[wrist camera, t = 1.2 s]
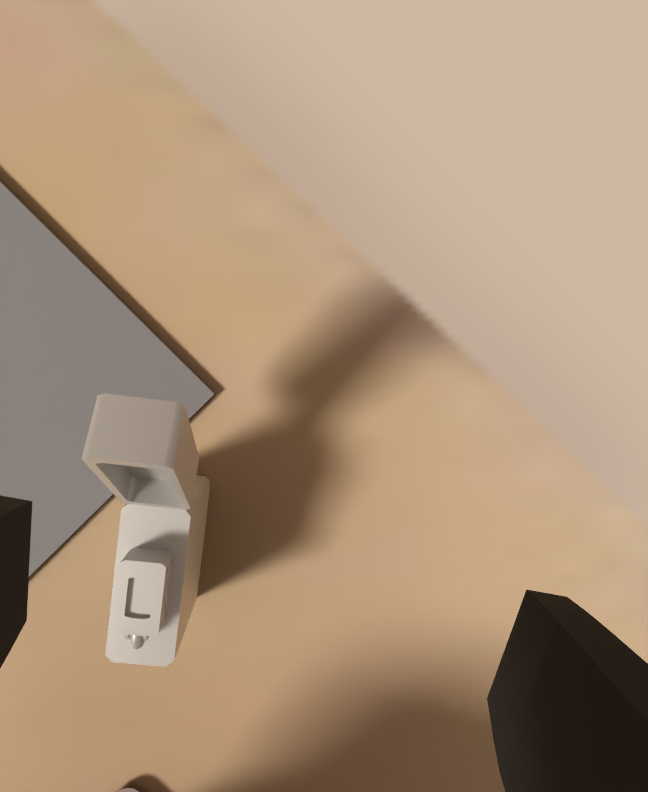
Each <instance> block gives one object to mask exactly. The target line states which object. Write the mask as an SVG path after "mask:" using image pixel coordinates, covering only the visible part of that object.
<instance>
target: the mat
mask: <svg viewBox="0 0 648 792" xmlns="http://www.w3.org/2000/svg"><path fill="white" fill-rule="evenodd" d="M104 393H106V394H114V395H123V396H131V397H140V398H148V399H156V400H165V401H173V402H177V403H180V404H182V405H184V406H185V407H186V411H187V414H188V418H189V419H190V418H191V417H192V416H193V415H194V414H195V413H196V412H197V411H198V410H199V409H200V408H201V407H202V406H203V405H204V404H205V403H206V402H207V401H208V400H209V399H210V398H211V397H212V396H213V395H214V394H215V393H214V392H213V391H212V390H211V389H210V388H209V387H208V386H207V385H206V384H205V383H204V382H203V381H202V380H201V379H200V378H199V377H198V376H197V375H196V374H195V373H194V372H193V371H192V370H191V369H190V368H189V367H188V366H187V365H186V364H185V363H184V362H183V361H182V360H181V359H180V358H179V357H178V356H177V355H176V354H175V353H174V352H173V351H172V350H171V349H170V348H169V347H168V346H167V345H166V344H165V343H164V342H163V341H162V340H161V339H160V338H159V337H158V336H157V335H156V334H155V333H154V332H153V331H152V330H151V329H150V328H149V327H148V326H147V325H146V324H145V323H144V322H143V321H142V320H141V319H140V318H139V317H138V316H137V315H135V314H134V313H133V312H132V311H131V310H130V309H129V308H128V307H127V306H126V305H125V304H124V303H123V302H122V301H121V300H120V299H119V298H118V297H117V296H116V295H115V294H114V293H113V292H112V291H111V290H110V289H109V288H108V287H107V286H106V285H105V284H104V283H103V282H102V281H101V280H100V279H99V278H98V277H97V276H96V275H95V274H94V273H93V272H92V271H91V270H90V269H89V268H88V267H87V266H86V265H85V264H84V263H83V262H82V261H81V260H80V259H79V258H78V257H77V256H76V255H75V254H74V253H73V252H72V251H71V250H70V249H69V248H68V247H67V246H66V245H65V244H64V243H63V242H62V241H61V240H60V239H59V238H58V237H57V236H56V235H55V234H54V233H53V232H52V231H51V230H50V229H49V228H48V227H47V226H46V225H45V224H44V223H43V222H42V221H41V220H40V219H39V218H38V217H37V216H36V215H35V214H34V213H33V212H32V211H31V210H30V209H29V208H28V207H27V206H26V205H24V204H23V203H22V202H21V201H20V200H19V199H18V198H17V197H16V196H15V195H14V194H13V193H12V192H11V191H10V190H9V189H8V188H7V187H6V186H5V185H4V184H3V183H2V182H1V181H0V495H1V496H6V497H12V498H18V499H23V500H29V501H32V520H31V540H30V560H29V577H30V576H31V575H32V574H33V573H34V572H35V571H36V570H37V569H38V568H39V567H40V566H41V565H42V564H43V563H44V562H45V561H46V560H47V559H48V558H49V557H50V556H51V555H52V554H53V553H54V552H55V551H56V550H57V549H58V548H59V547H60V546H61V545H62V544H63V543H64V542H65V541H66V540H67V539H68V538H69V537H70V536H71V535H72V534H73V533H74V532H75V531H76V530H77V529H78V528H79V527H80V526H81V525H82V524H83V523H84V522H85V521H86V520H87V519H88V518H89V517H90V516H91V515H92V514H93V513H95V512H96V511H97V510H98V509H99V508H100V507H101V506H102V505H103V504H104V503H105V502H106V501H107V500H108V499H109V498H110V497H111V496H112V495H113V493H112V492H111V491H110V490H109V489H108V487H107V486H106V485H105V484H104V483H103V482H102V481H101V480H100V479H99V478H98V477H97V475H96V474H95V473H94V472H93V471H92V470H91V469H90V468H89V467H88V466H87V465H86V464H85V462H84V461H83V460H82V455H83V451H84V447H85V443H86V439H87V435H88V431H89V427H90V423H91V419H92V415H93V411H94V407H95V403H96V399H97V396H98V395H101V394H104Z"/></svg>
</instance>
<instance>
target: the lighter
mask: <svg viewBox="0 0 648 792" xmlns="http://www.w3.org/2000/svg"><path fill="white" fill-rule="evenodd" d="M82 460H83V461H84V462H85V464H86V465H87V466H88V467H89V468H90V469H91V470H92V471H93V472H94V473H95V474H96V475H97V477H98V478H99V479H100V480H101V481H102V482H103V483H104V484H105V485H106V486H107V487H108V489H109V490H110V491H111V492H112V493H113V494H114V495H115V496H116V497H117V498H118V499H119V501H120V502H124V503H127V504H126V505H125V506H124V507H123V508H122V509H121V516H120V526H119V535H118V544H117V553H116V562H115V571H114V581H113V590H112V599H111V608H110V617H109V626H108V635H107V645H106V654H105V655H106V656H107V657H108V658H109V660H110V661H111V662H117V663H129V664H141V665H152V666H164V667H167V666H168V665H169V664H171V663H172V662H173V661H174V659H175V657H176V654H177V651H178V648H179V645H180V643H181V640H182V637H183V634H184V632H185V629H186V626H187V623H188V620H189V618H190V615H191V612H192V609H193V606H194V604H195V601H196V598H197V595H198V587H199V579H200V570H201V561H202V553H203V544H204V536H205V527H206V519H207V510H208V502H209V493H210V485H211V481H210V480H209V479H208V478H207V476H202V475H197V469H198V464H199V456H198V452H197V448H196V444H195V441H194V437H193V433H192V429H191V426H190V422H189V418H188V414H187V411H186V407H185V406H184V405H182V404H180V403H177V402H173V401H165V400H156V399H148V398H140V397H131V396H123V395H114V394H106V393H104V394H101V395H98V396H97V399H96V403H95V407H94V411H93V415H92V419H91V423H90V427H89V431H88V435H87V439H86V443H85V447H84V451H83V455H82Z"/></svg>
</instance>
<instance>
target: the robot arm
mask: <svg viewBox="0 0 648 792" xmlns="http://www.w3.org/2000/svg"><path fill="white" fill-rule="evenodd" d="M31 520H32V501H29V500H23V499H18V498H12V497H6V496H1V495H0V668H1V666H2V664H3V663H4V661H5V659H6V657H7V655H8V654H9V652H10V650H11V648H12V646H13V644H14V643H15V641H16V639H17V637H18V635H19V633H20V631H21V630H22V628H23V626H24V624H25V622H26V619H27V599H28V580H29V560H30V540H31ZM487 700H488V706H489V713H490V719H491V725H492V732H493V738H494V743H495V749H496V754H497V759H498V765H499V770H500V774H501V777H502V781H503V784H504V788H505V792H648V664H647V663H646V662H645V661H644V660H643V659H641V658H640V657H639V656H638V655H637V654H636V653H635V652H633V651H632V650H631V649H630V648H629V647H628V646H627V645H625V644H624V643H623V642H622V641H621V640H620V639H618V638H617V637H616V636H615V635H614V634H613V633H611V632H610V631H609V630H608V629H607V628H606V627H604V626H603V625H602V624H601V623H600V622H598V621H597V620H596V619H595V618H594V617H592V616H591V615H590V614H589V613H588V612H586V611H585V610H584V609H582V608H581V607H580V606H579V605H577V604H576V603H574V602H573V601H572V600H570V599H569V598H568V597H564V596H559V595H553V594H548V593H542V592H536V591H531V590H526V593H525V595H524V598H523V601H522V604H521V607H520V609H519V612H518V615H517V618H516V620H515V623H514V626H513V629H512V631H511V634H510V637H509V640H508V642H507V645H506V648H505V651H504V653H503V656H502V659H501V662H500V665H499V667H498V670H497V673H496V676H495V678H494V681H493V684H492V687H491V689H490V692H489V695H488V698H487ZM119 792H139V791H137V790H135V789H133V788H125V789H122V790H120V791H119Z"/></svg>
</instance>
